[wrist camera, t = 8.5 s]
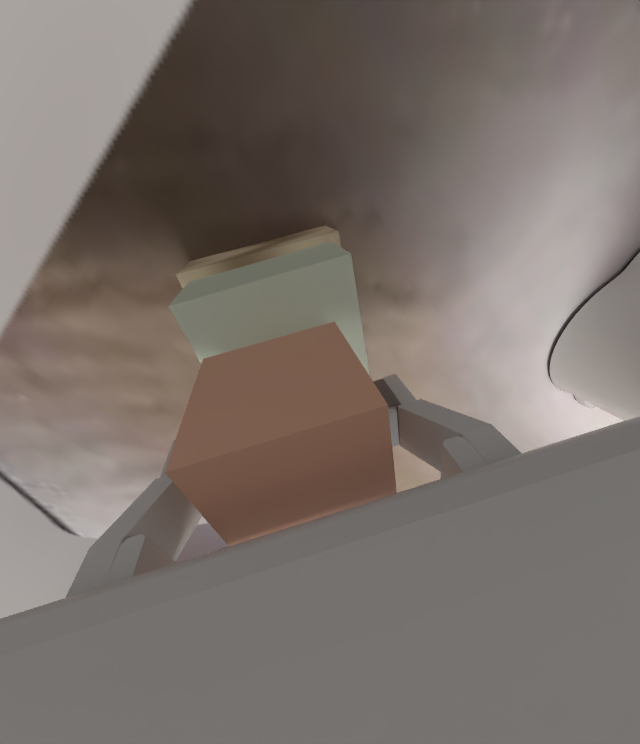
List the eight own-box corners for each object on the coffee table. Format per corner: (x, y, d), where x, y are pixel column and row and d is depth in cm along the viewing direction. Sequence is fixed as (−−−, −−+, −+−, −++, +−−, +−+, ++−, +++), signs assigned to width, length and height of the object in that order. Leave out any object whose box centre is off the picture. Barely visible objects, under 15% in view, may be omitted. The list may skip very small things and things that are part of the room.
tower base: (324, 225, 18) (338, 231, 15) (345, 342, 23) (359, 366, 20) (191, 260, 18) (175, 274, 14) (241, 371, 23) (238, 401, 19)
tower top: (330, 241, 15) (351, 253, 12) (353, 361, 19) (372, 394, 16) (188, 282, 15) (168, 306, 11) (244, 393, 19) (241, 434, 16)
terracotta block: (334, 321, 10) (388, 404, 6) (353, 417, 13) (398, 519, 9) (203, 358, 10) (164, 472, 6) (251, 448, 13) (248, 568, 9)
